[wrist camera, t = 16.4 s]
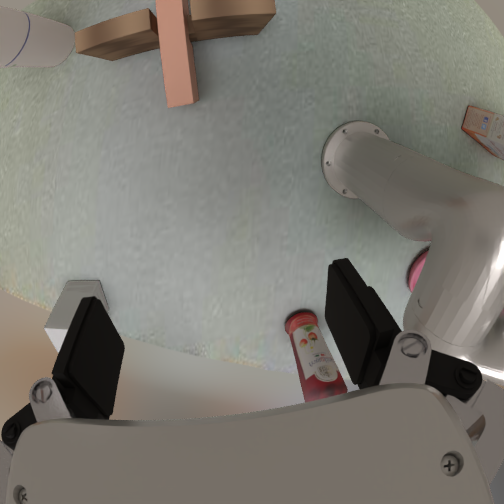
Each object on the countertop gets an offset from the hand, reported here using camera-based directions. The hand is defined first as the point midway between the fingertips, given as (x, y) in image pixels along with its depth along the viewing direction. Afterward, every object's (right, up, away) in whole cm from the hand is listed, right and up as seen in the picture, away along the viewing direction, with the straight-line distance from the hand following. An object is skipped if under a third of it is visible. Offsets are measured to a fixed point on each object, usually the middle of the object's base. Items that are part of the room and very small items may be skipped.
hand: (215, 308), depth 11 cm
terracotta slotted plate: (-8, +31, +18) cm, 37 cm away
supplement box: (-30, -6, +38) cm, 48 cm away
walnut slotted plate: (-8, +31, +18) cm, 37 cm away
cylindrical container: (-27, +32, +15) cm, 45 cm away
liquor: (+11, -12, +47) cm, 50 cm away
